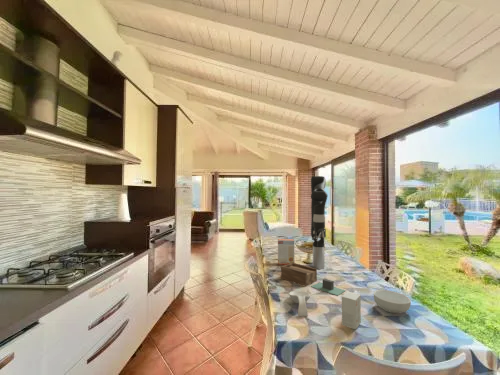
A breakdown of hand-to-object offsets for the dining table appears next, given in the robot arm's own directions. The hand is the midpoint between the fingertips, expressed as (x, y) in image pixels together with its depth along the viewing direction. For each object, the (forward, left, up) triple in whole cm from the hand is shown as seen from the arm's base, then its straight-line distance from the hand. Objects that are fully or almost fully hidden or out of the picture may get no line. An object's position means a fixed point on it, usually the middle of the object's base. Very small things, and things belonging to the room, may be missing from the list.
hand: (319, 245), depth 159 cm
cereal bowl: (+4, +44, -26) cm, 51 cm away
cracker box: (-21, -43, -26) cm, 55 cm away
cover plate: (+3, +8, -27) cm, 28 cm away
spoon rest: (+35, +8, -26) cm, 44 cm away
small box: (+33, +35, -26) cm, 55 cm away
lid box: (+3, -14, -26) cm, 30 cm away
